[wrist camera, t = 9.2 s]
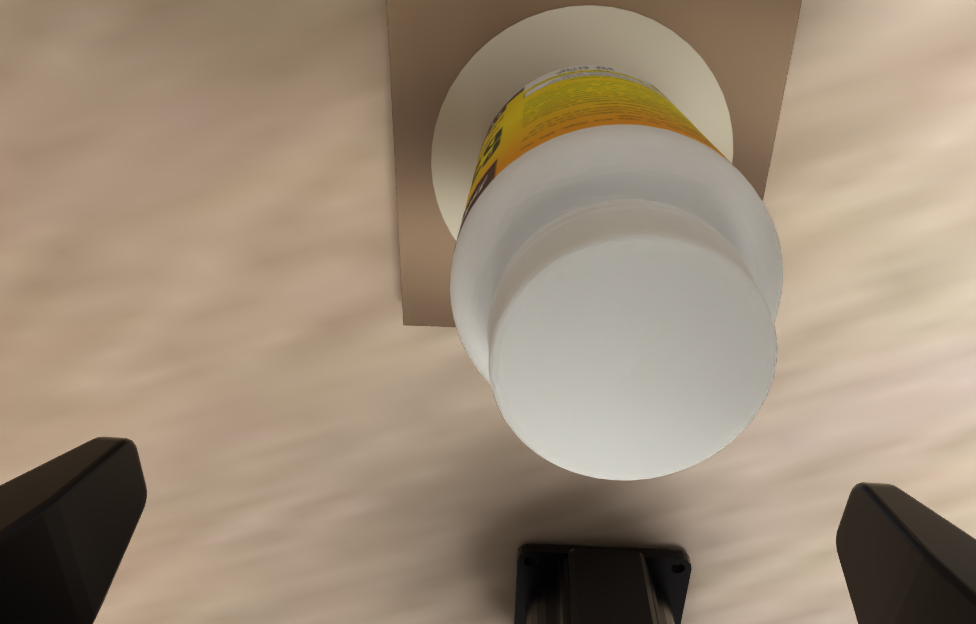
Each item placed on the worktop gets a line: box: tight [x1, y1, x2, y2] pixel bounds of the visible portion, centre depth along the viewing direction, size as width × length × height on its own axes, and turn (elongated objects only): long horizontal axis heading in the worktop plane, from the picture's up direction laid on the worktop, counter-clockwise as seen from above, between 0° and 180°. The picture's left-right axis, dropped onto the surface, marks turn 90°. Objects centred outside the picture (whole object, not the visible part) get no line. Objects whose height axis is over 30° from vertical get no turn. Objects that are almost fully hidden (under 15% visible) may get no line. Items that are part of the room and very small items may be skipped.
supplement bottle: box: [450, 65, 783, 480], centre depth 14 cm, size 6×6×10 cm
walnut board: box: [387, 0, 802, 327], centre depth 19 cm, size 10×10×1 cm
